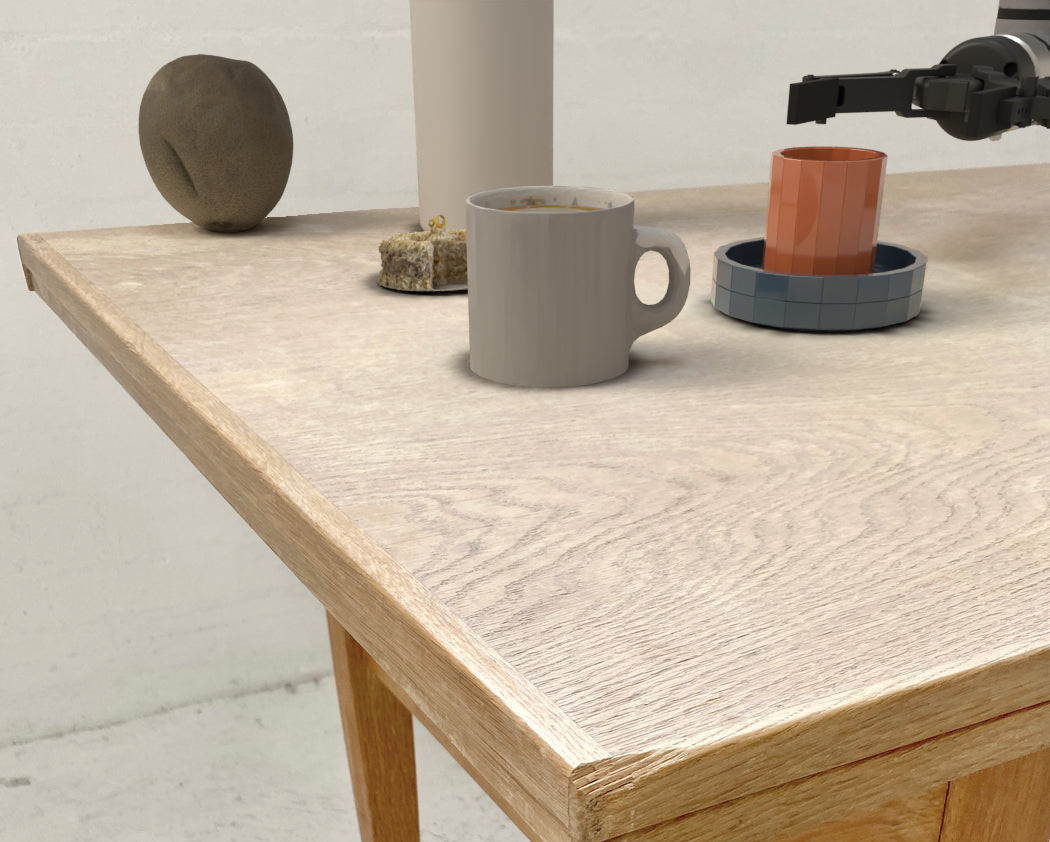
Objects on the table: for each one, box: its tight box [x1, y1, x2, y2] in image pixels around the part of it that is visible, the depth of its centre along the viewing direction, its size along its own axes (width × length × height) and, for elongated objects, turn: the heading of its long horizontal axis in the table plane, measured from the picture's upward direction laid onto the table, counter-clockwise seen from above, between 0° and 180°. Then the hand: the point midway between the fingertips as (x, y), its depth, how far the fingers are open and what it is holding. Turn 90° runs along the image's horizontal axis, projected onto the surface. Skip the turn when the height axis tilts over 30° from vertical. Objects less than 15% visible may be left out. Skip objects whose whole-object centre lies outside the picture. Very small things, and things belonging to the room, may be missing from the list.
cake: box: [376, 215, 468, 293], centre depth 100 cm, size 10×10×5 cm
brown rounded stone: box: [138, 53, 294, 233], centre depth 119 cm, size 14×14×15 cm
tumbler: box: [762, 146, 889, 275], centre depth 90 cm, size 8×8×10 cm
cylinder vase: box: [408, 0, 555, 231], centre depth 115 cm, size 12×12×25 cm
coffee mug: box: [466, 185, 692, 388], centre depth 78 cm, size 13×10×10 cm
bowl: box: [710, 236, 929, 332], centre depth 92 cm, size 15×15×4 cm
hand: (879, 109), depth 90 cm, fingers open, 13 cm apart
